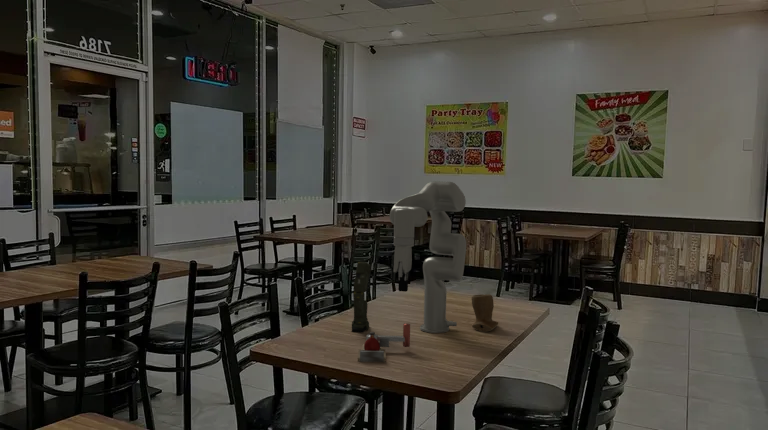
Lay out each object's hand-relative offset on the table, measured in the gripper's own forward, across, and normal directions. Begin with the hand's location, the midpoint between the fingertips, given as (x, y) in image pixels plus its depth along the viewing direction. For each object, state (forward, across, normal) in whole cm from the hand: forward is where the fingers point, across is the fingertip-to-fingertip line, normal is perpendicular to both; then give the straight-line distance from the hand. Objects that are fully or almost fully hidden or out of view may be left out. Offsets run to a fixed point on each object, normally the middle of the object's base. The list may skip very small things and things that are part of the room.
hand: (403, 290), depth 211 cm
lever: (+22, -1, -6) cm, 23 cm away
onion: (+24, +8, -10) cm, 27 cm away
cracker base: (+23, +5, -10) cm, 26 cm away
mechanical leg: (+24, -28, -25) cm, 45 cm away
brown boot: (+25, -47, +26) cm, 59 cm away
